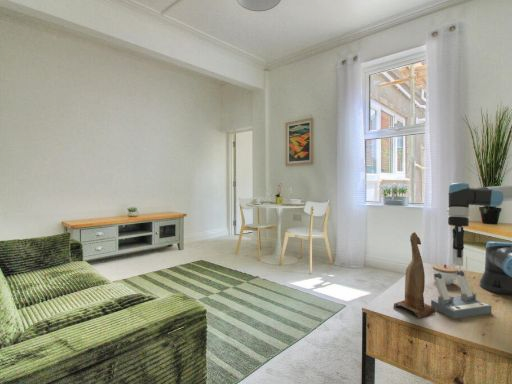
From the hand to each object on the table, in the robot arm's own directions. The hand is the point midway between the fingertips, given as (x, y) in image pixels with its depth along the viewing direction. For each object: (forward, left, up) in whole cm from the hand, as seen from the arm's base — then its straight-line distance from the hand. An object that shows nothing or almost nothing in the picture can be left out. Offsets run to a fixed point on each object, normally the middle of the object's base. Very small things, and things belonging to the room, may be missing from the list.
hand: (457, 264), depth 123 cm
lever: (+11, +12, -11) cm, 20 cm away
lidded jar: (-6, -19, -15) cm, 25 cm away
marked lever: (0, +8, -11) cm, 14 cm away
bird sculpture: (+24, +14, -15) cm, 32 cm away
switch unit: (+5, +12, -15) cm, 20 cm away
